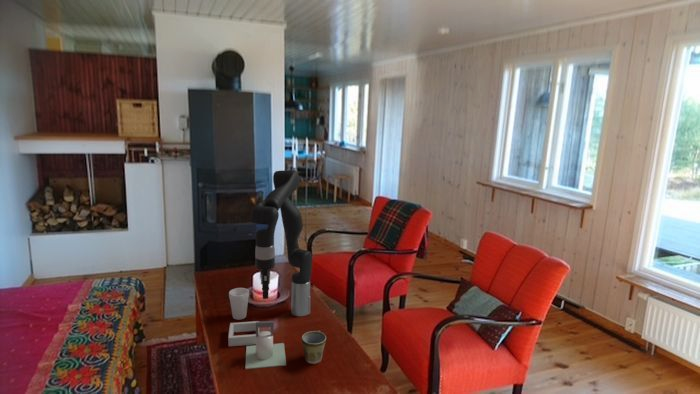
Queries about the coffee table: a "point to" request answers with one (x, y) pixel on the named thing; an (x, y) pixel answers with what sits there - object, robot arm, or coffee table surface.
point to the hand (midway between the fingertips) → (265, 293)
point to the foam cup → (239, 302)
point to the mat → (275, 360)
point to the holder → (242, 339)
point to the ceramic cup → (313, 346)
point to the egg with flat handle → (264, 341)
